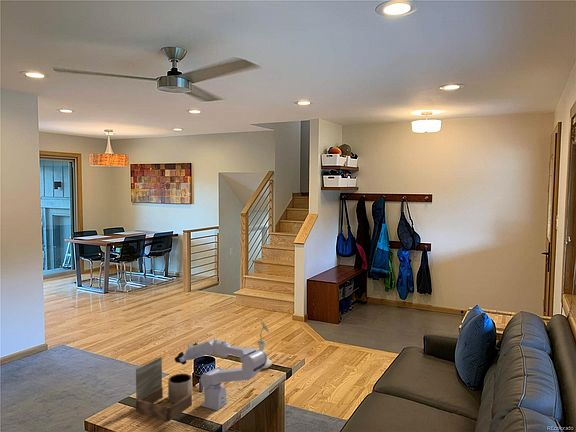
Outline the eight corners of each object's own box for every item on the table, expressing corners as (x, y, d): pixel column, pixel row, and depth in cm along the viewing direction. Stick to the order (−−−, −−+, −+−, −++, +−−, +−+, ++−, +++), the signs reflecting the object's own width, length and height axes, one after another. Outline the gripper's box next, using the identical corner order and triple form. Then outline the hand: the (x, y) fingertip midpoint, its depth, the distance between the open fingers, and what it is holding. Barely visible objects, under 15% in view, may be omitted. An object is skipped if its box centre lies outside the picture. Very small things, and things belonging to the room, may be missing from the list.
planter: (185, 405, 191) (185, 384, 191) (163, 402, 194) (163, 382, 193) (195, 394, 202) (195, 374, 202) (174, 391, 204) (174, 372, 204)
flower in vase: (271, 370, 229) (271, 325, 228) (250, 370, 230) (250, 325, 228) (272, 361, 242) (272, 318, 241) (252, 361, 243) (252, 318, 241)
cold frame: (191, 405, 191) (191, 364, 190) (168, 421, 177) (168, 377, 177) (160, 396, 199) (160, 357, 198) (136, 411, 185) (135, 369, 184)
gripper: (206, 335, 202) (188, 342, 210) (184, 349, 190) (166, 355, 197) (212, 349, 202) (194, 355, 209) (191, 364, 190) (172, 369, 197)
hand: (181, 356), depth 203 cm, fingers open, 7 cm apart
